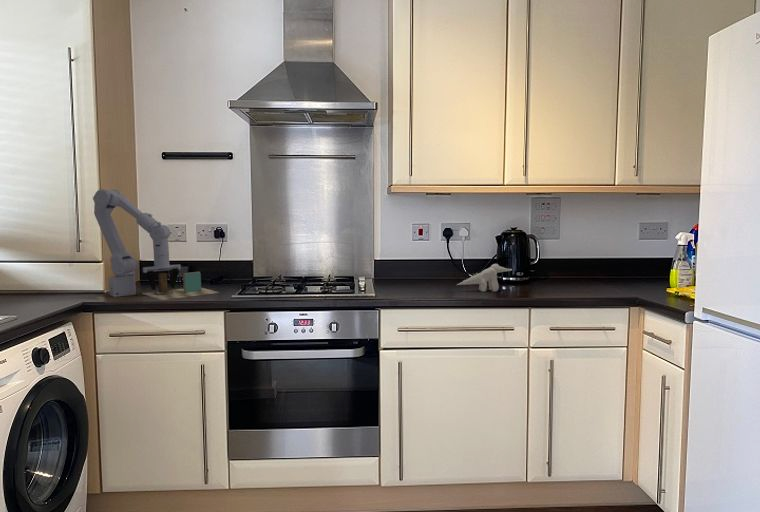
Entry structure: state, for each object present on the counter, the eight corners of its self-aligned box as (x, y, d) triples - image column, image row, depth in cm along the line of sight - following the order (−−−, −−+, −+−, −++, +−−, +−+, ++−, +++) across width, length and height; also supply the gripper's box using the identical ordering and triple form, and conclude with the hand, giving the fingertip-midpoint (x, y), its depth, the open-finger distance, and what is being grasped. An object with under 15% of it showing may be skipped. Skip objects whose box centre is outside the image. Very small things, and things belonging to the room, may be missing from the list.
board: (161, 302, 201) (161, 300, 201) (141, 295, 217) (141, 293, 217) (220, 294, 217) (220, 292, 217) (197, 288, 233) (197, 286, 233)
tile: (185, 292, 218) (184, 273, 217) (183, 292, 219) (182, 273, 218) (201, 290, 222) (200, 271, 222) (200, 290, 223) (199, 271, 223)
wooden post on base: (158, 295, 211) (157, 274, 211) (153, 294, 215) (152, 273, 214) (173, 293, 216) (172, 273, 215) (168, 292, 219) (167, 272, 218)
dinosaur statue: (516, 289, 215) (514, 262, 214) (458, 296, 214) (456, 269, 213) (511, 287, 222) (508, 261, 221) (455, 294, 221) (452, 267, 220)
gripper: (146, 257, 206) (148, 291, 207) (183, 254, 216) (184, 287, 217) (140, 256, 211) (142, 289, 212) (176, 253, 221) (177, 285, 222)
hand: (163, 288), depth 215 cm, fingers open, 7 cm apart
